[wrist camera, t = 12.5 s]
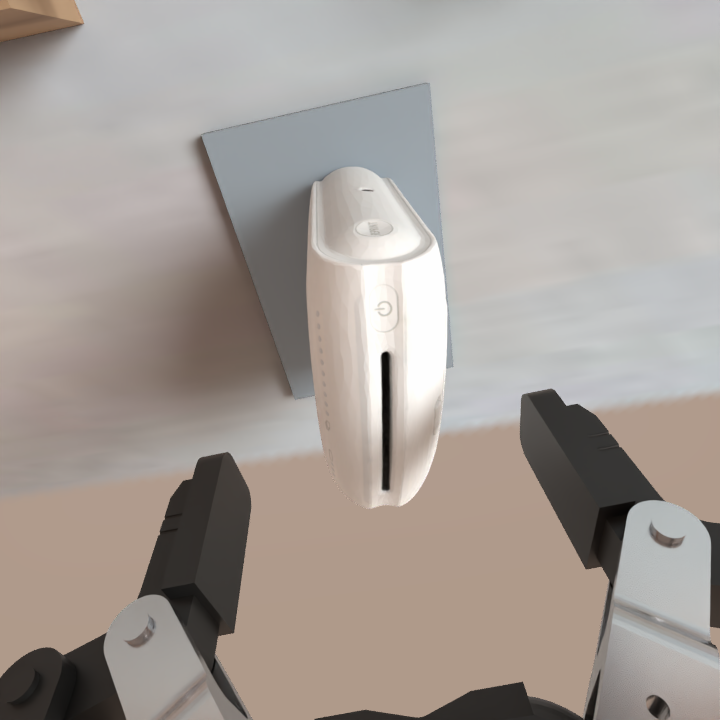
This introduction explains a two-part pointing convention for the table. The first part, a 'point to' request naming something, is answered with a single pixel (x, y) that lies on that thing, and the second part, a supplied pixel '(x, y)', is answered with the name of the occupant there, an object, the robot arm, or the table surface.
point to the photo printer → (375, 336)
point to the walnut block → (36, 17)
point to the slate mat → (293, 191)
